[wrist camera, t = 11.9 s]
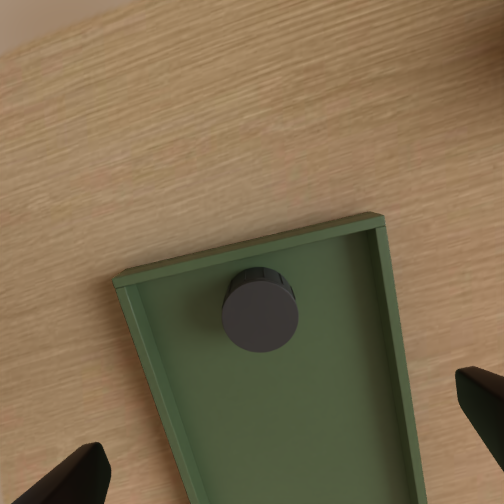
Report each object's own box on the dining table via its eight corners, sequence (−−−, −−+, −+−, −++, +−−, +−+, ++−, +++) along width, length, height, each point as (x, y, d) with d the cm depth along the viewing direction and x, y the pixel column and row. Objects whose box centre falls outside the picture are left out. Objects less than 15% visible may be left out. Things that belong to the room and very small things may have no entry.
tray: (125, 269, 20) (110, 278, 18) (370, 211, 19) (384, 214, 17) (257, 658, 27) (257, 695, 25) (437, 629, 26) (451, 665, 24)
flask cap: (296, 324, 20) (303, 347, 17) (231, 333, 20) (228, 357, 17) (288, 261, 19) (294, 275, 16) (220, 271, 19) (215, 286, 16)
